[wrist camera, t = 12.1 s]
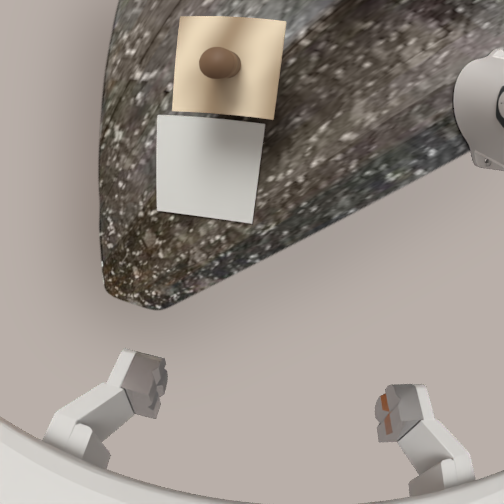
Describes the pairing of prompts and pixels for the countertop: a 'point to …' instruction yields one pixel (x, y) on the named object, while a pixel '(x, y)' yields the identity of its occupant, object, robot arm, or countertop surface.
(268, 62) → the lid
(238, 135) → the mat
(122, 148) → the countertop surface
